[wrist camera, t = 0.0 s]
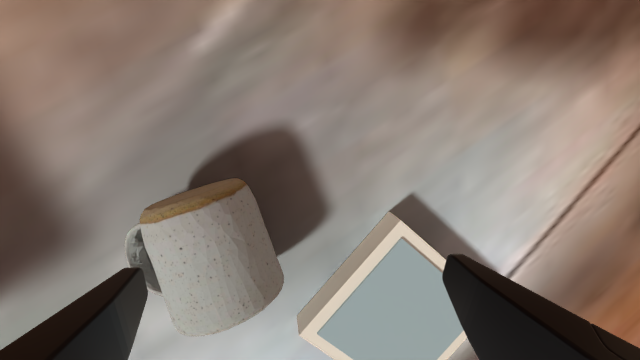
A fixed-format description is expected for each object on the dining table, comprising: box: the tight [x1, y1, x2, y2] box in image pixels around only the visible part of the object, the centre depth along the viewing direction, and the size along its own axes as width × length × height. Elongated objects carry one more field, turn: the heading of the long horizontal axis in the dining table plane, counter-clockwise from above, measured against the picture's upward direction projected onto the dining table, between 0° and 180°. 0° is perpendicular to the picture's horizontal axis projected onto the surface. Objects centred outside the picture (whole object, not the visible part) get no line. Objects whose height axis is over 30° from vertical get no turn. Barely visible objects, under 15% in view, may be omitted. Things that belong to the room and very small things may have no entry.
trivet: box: [297, 212, 467, 360], centre depth 26 cm, size 12×12×3 cm
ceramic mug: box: [124, 178, 284, 336], centre depth 20 cm, size 11×8×8 cm
